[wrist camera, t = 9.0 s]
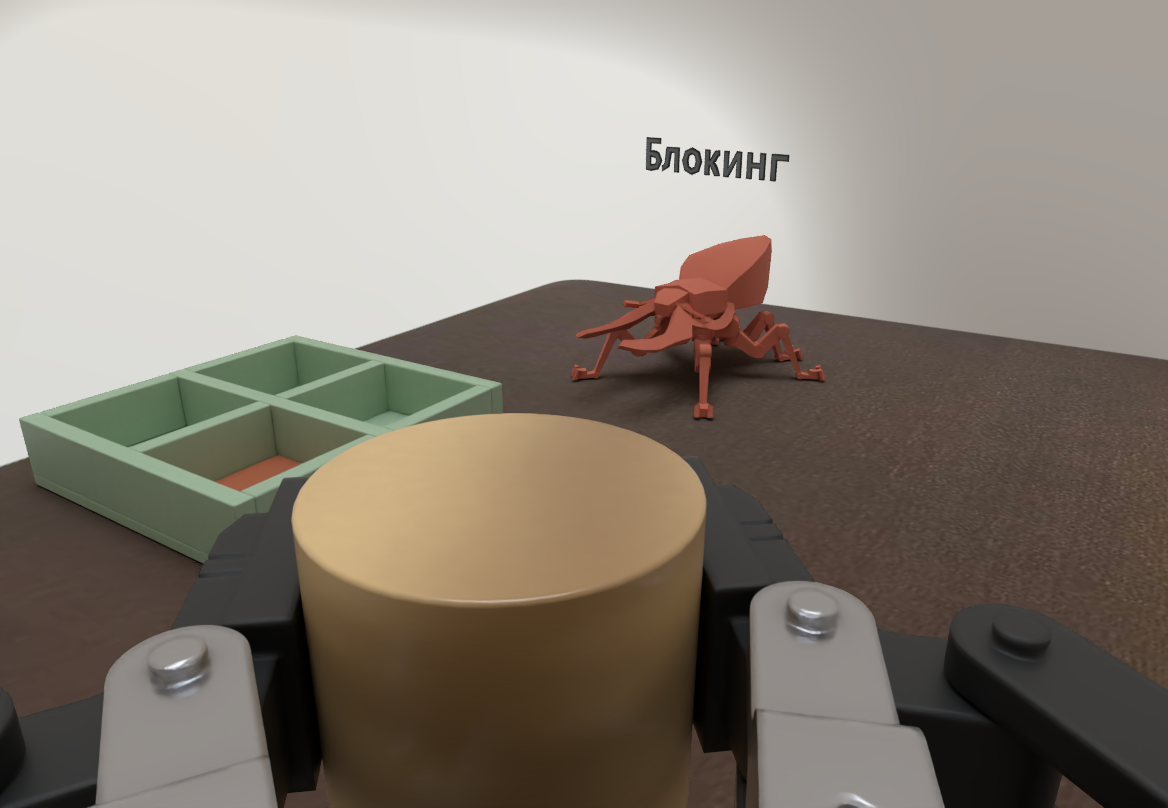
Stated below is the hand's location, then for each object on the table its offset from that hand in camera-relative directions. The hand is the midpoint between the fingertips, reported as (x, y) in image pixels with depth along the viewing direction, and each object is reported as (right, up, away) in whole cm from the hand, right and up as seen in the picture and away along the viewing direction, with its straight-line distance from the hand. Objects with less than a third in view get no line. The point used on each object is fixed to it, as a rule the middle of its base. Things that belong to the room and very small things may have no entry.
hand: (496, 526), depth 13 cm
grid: (-12, -1, +26) cm, 28 cm away
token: (0, -7, 0) cm, 7 cm away
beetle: (+7, +3, +36) cm, 37 cm away
